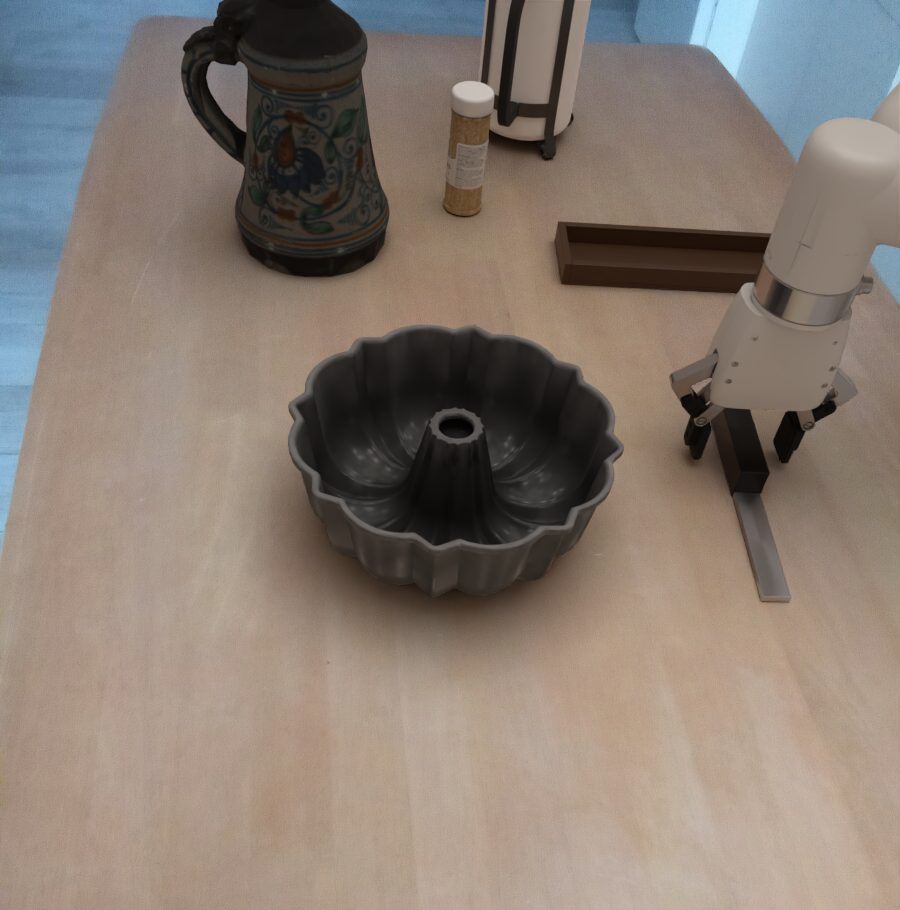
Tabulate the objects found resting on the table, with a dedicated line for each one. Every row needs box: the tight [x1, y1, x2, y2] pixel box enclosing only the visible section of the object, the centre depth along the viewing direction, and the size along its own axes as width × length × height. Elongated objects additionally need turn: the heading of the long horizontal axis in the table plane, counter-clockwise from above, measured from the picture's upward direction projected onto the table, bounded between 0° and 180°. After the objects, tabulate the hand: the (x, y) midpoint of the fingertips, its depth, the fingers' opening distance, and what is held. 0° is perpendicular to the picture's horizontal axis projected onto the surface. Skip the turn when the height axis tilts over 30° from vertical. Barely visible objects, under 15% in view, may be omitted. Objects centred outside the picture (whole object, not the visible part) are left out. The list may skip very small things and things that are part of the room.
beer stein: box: [180, 0, 390, 278], centre depth 101 cm, size 16×19×25 cm
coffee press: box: [477, 0, 592, 160], centre depth 117 cm, size 17×16×30 cm
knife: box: [710, 408, 792, 603], centre depth 90 cm, size 22×3×3 cm, turn 1°
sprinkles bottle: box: [442, 80, 494, 217], centre depth 112 cm, size 5×5×13 cm
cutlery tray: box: [554, 220, 772, 294], centre depth 112 cm, size 28×8×2 cm, turn 92°
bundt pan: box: [287, 324, 625, 599], centre depth 84 cm, size 26×26×10 cm
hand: (736, 450), depth 94 cm, fingers open, 7 cm apart
